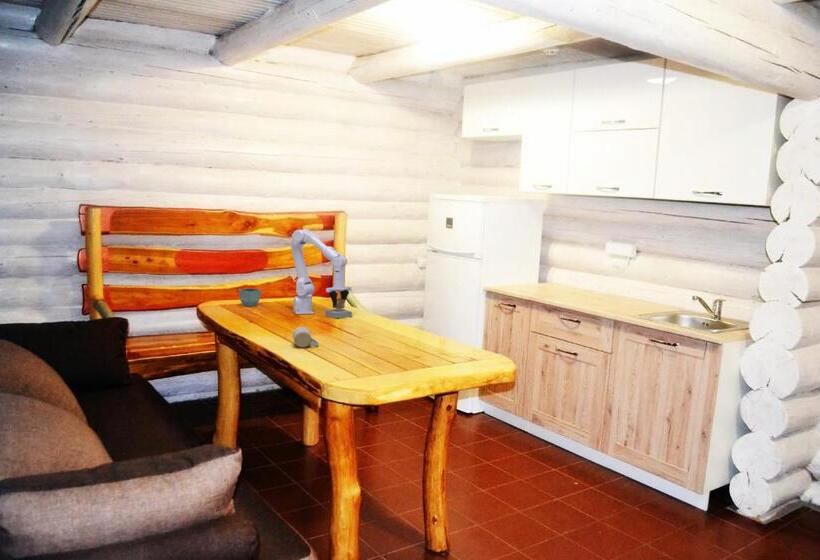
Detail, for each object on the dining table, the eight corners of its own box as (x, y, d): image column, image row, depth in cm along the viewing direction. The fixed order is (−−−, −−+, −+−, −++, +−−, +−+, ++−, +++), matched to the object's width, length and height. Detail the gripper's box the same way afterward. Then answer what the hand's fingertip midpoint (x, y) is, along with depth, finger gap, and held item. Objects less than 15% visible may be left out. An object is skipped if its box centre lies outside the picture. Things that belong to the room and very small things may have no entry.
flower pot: (261, 305, 378) (261, 289, 376) (249, 307, 370) (250, 291, 369) (250, 303, 382) (250, 288, 381) (238, 305, 375) (238, 289, 374)
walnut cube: (337, 308, 352) (337, 300, 351) (332, 307, 356) (332, 298, 355) (344, 308, 355) (344, 299, 354) (339, 306, 358) (339, 298, 358)
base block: (335, 319, 349) (335, 313, 348) (325, 315, 356) (325, 310, 356) (351, 317, 355) (351, 311, 355) (341, 314, 363) (341, 308, 362)
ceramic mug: (294, 348, 284) (294, 330, 283) (292, 344, 291) (293, 326, 290) (319, 348, 286) (320, 330, 285) (317, 343, 294) (317, 326, 293)
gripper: (331, 280, 345) (330, 307, 347) (355, 279, 354) (354, 305, 356) (324, 279, 351) (323, 305, 353) (347, 277, 360) (347, 303, 362)
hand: (338, 305), depth 355 cm, fingers closed on walnut cube, 4 cm apart
